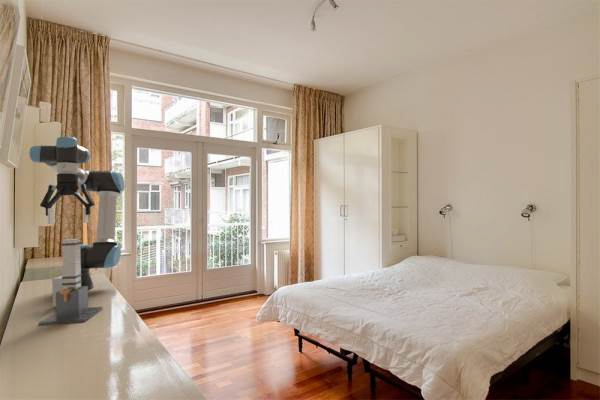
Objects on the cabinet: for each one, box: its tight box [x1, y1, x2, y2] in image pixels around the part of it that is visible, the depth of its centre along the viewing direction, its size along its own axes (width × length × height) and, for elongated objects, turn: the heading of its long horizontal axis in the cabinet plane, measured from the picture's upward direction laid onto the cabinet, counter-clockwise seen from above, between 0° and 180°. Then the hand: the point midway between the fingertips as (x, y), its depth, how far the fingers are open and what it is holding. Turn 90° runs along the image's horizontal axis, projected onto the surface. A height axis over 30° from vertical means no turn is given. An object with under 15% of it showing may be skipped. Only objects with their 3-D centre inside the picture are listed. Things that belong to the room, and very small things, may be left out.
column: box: [60, 238, 82, 290], centre depth 136 cm, size 5×5×22 cm
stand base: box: [38, 286, 103, 326], centre depth 136 cm, size 16×16×12 cm
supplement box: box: [51, 275, 63, 308], centre depth 153 cm, size 7×7×13 cm
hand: (68, 223), depth 146 cm, fingers open, 13 cm apart
